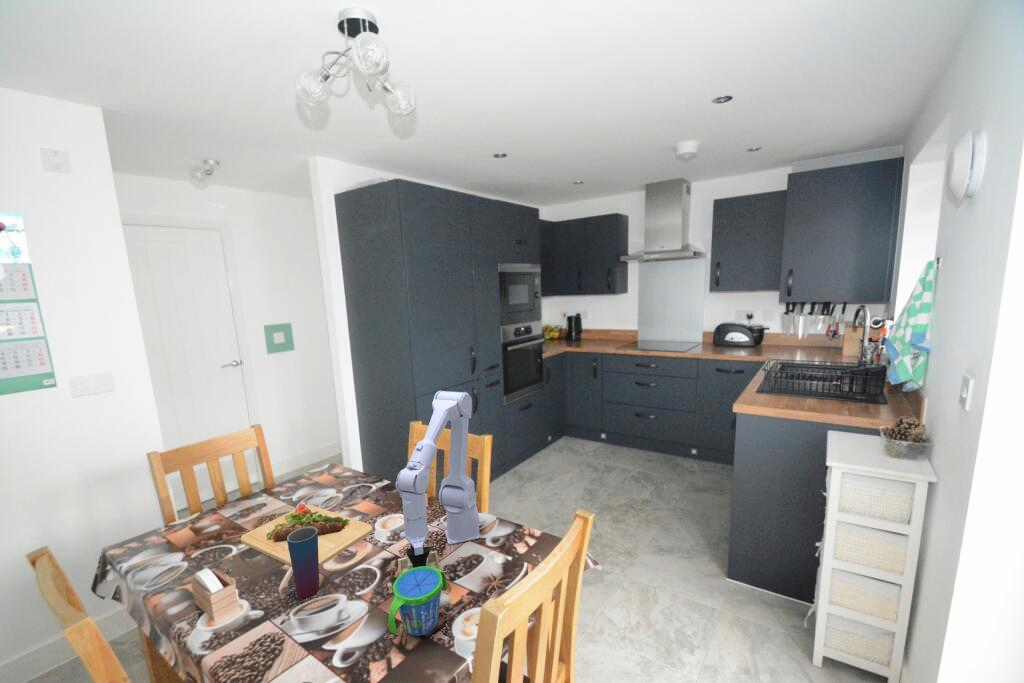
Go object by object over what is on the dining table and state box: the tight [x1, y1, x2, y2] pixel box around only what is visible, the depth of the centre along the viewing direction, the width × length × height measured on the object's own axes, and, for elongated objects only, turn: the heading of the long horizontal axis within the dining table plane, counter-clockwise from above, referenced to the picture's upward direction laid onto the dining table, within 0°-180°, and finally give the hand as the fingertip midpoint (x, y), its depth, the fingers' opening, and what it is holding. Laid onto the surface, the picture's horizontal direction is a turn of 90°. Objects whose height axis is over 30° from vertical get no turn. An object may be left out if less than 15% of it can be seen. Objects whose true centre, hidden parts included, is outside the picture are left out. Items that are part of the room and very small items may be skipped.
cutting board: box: [240, 503, 374, 568], centre depth 128 cm, size 35×23×8 cm
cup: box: [287, 527, 320, 599], centre depth 103 cm, size 7×7×15 cm
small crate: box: [406, 555, 429, 570], centre depth 106 cm, size 5×5×5 cm
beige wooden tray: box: [397, 550, 442, 577], centre depth 106 cm, size 10×10×3 cm
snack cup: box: [387, 566, 449, 637], centre depth 90 cm, size 16×10×10 cm
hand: (418, 564), depth 106 cm, fingers open, 7 cm apart
